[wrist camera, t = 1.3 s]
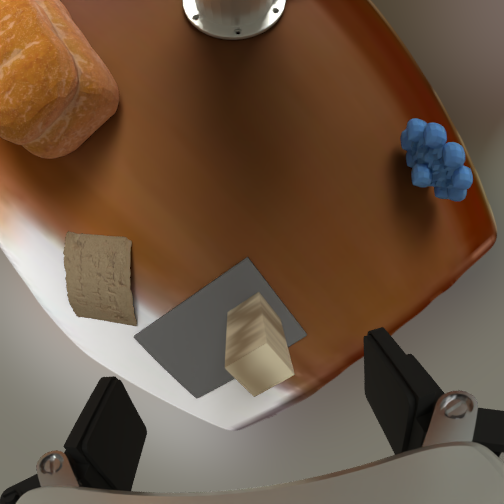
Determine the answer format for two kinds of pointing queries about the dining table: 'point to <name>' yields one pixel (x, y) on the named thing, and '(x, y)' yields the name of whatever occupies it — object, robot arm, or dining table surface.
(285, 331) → the rubber mat
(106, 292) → the clay tablet
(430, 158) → the grapes
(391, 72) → the dining table surface
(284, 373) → the birch block
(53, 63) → the bread
